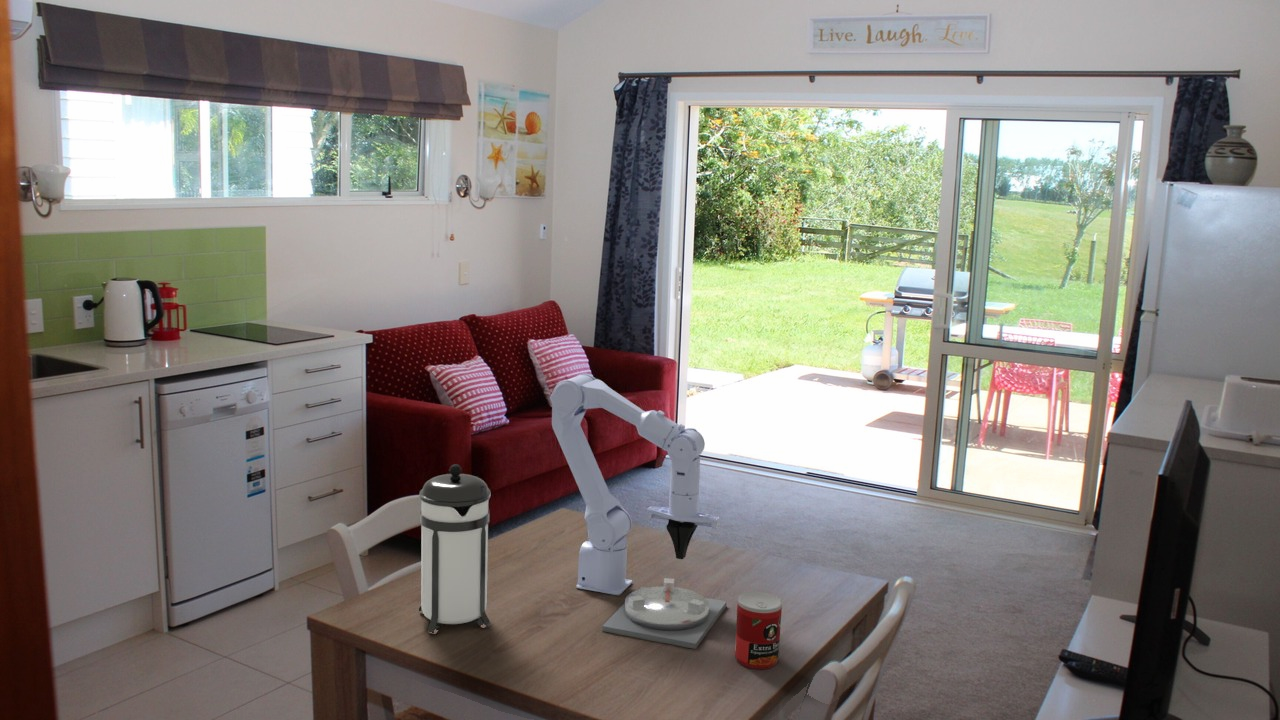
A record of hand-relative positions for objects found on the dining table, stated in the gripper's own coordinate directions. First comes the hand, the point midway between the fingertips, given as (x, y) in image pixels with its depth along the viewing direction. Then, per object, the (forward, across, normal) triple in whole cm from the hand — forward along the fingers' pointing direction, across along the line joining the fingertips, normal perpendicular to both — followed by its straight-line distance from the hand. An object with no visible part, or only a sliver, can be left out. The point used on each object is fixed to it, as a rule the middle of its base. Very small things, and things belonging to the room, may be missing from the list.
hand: (680, 557), depth 204 cm
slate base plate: (+9, -1, +10) cm, 13 cm away
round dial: (+8, -1, +10) cm, 12 cm away
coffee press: (+9, +36, +28) cm, 46 cm away
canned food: (+9, -21, +19) cm, 30 cm away
